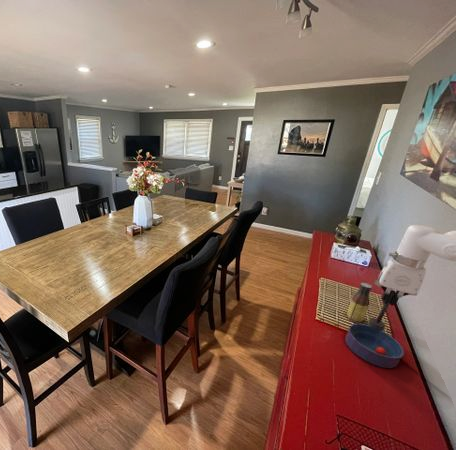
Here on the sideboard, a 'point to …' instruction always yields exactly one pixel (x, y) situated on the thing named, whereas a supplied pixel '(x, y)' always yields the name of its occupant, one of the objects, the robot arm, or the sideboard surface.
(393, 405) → the sideboard surface
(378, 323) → the dark grey rod
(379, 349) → the tomato
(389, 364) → the bowl
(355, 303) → the sauce bottle
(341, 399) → the sideboard surface
